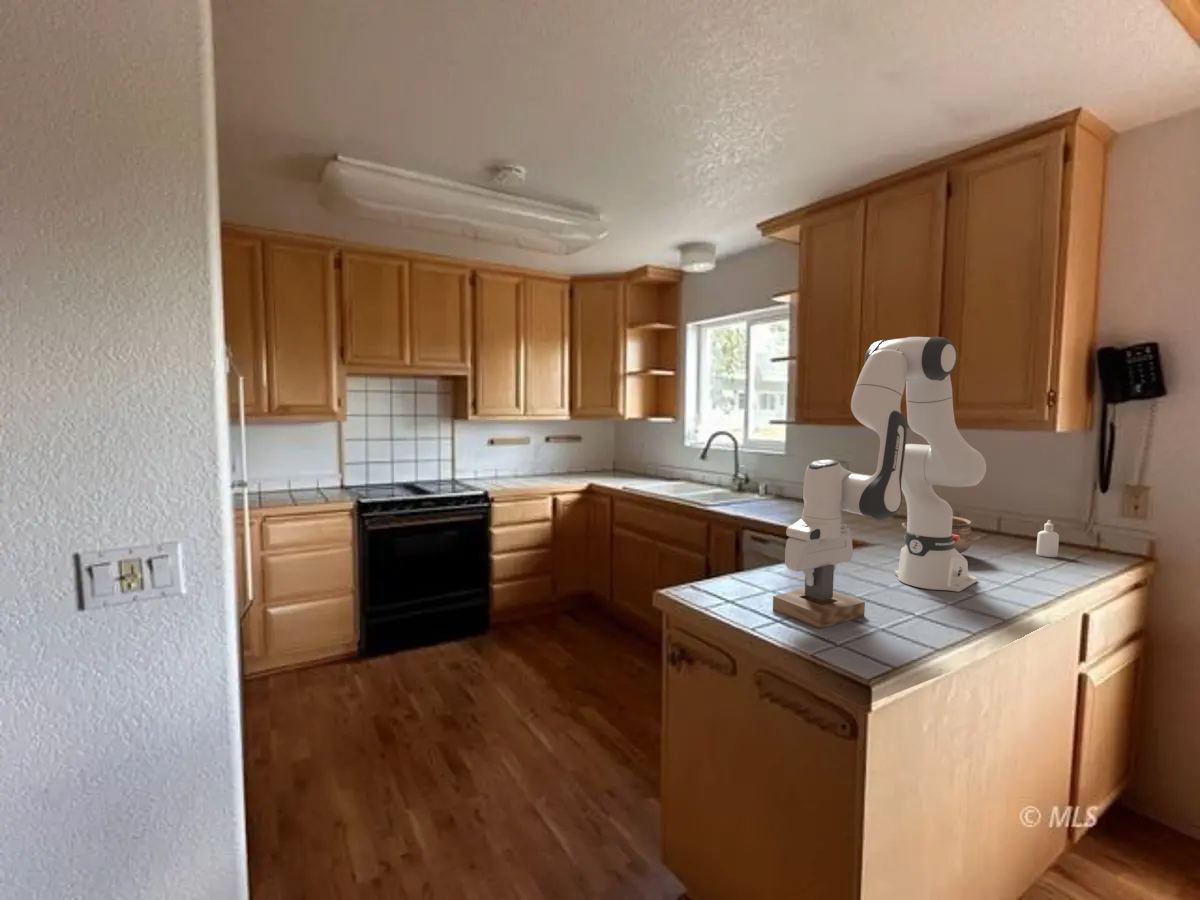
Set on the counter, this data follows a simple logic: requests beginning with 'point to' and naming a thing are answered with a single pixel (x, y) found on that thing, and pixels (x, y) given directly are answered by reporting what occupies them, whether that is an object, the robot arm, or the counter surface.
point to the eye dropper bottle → (1047, 541)
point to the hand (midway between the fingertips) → (818, 583)
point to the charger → (821, 583)
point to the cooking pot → (960, 533)
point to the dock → (818, 608)
